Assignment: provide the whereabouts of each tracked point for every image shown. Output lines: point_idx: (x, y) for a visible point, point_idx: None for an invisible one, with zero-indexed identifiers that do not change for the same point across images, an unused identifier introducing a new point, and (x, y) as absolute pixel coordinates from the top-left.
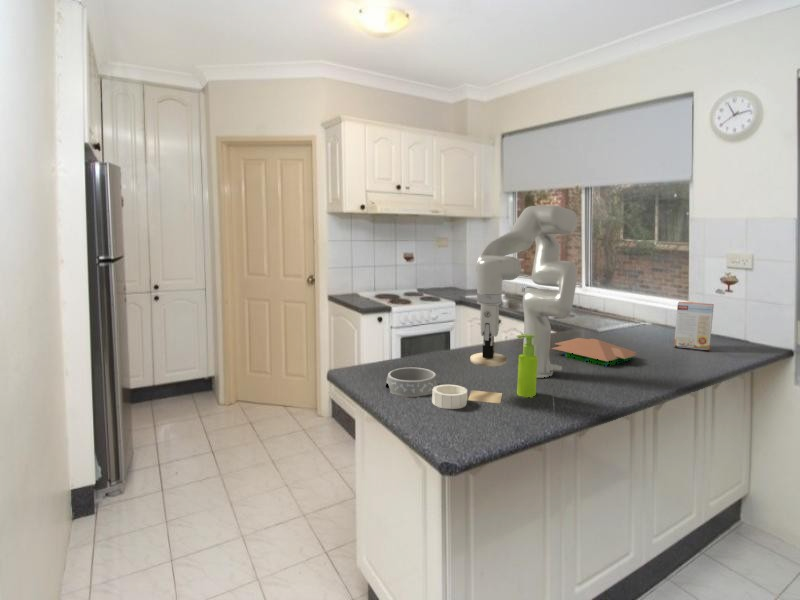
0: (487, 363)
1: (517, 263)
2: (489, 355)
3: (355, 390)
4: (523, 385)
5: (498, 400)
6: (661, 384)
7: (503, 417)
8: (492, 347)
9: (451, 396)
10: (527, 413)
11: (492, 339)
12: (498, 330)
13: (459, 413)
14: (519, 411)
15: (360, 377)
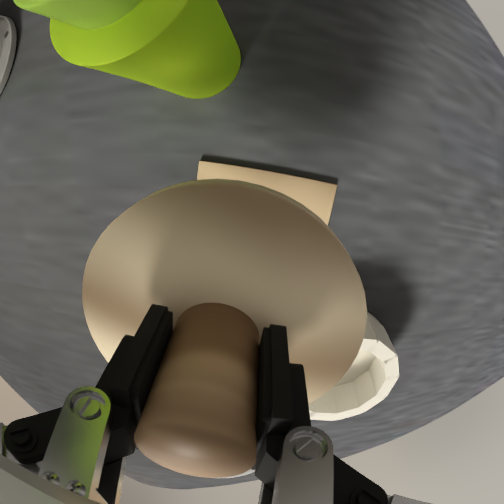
0: (357, 344)
1: None
2: (300, 365)
3: (244, 479)
4: (226, 64)
5: (301, 187)
6: None
7: (453, 195)
8: (290, 406)
9: (395, 374)
10: (417, 98)
11: (283, 494)
12: (9, 488)
13: (411, 323)
14: (402, 122)
15: (162, 470)
